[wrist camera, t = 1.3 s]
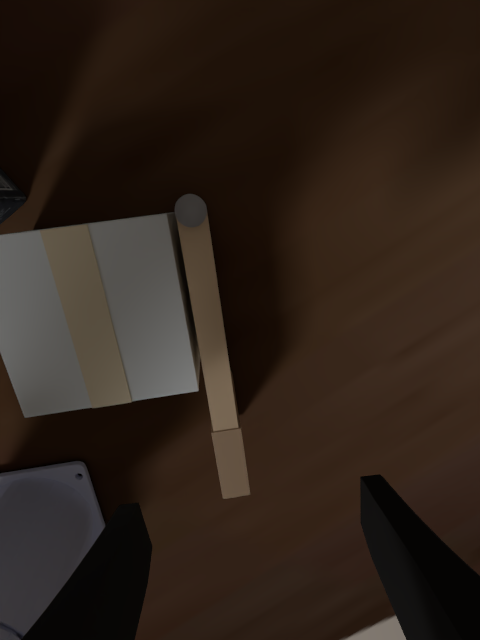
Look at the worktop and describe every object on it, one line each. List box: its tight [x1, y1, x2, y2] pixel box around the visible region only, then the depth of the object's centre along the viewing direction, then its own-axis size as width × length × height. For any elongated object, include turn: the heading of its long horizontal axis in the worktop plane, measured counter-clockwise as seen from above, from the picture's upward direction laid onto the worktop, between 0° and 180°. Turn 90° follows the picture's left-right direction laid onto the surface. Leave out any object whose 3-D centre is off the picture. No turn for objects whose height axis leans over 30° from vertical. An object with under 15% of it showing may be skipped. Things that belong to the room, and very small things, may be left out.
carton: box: [0, 212, 200, 418], centre depth 18 cm, size 8×8×6 cm
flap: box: [175, 194, 250, 499], centre depth 19 cm, size 15×1×7 cm, turn 7°
